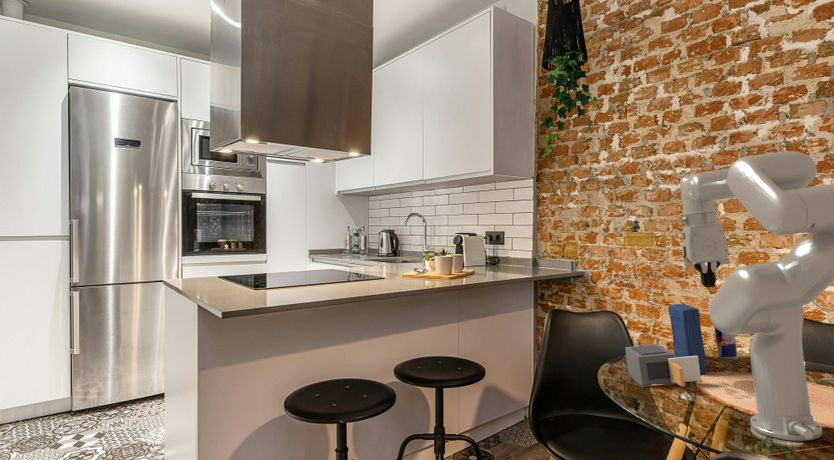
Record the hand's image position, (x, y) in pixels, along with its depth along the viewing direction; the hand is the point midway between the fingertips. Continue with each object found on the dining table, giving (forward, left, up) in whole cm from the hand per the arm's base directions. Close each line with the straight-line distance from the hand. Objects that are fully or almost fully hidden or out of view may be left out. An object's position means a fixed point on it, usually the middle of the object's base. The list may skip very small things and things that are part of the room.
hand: (709, 286), depth 126 cm
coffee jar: (+29, -5, -29) cm, 42 cm away
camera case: (+14, +13, -29) cm, 35 cm away
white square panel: (+5, +6, -28) cm, 29 cm away
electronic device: (+20, -1, -29) cm, 35 cm away
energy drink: (+27, -16, -29) cm, 43 cm away
